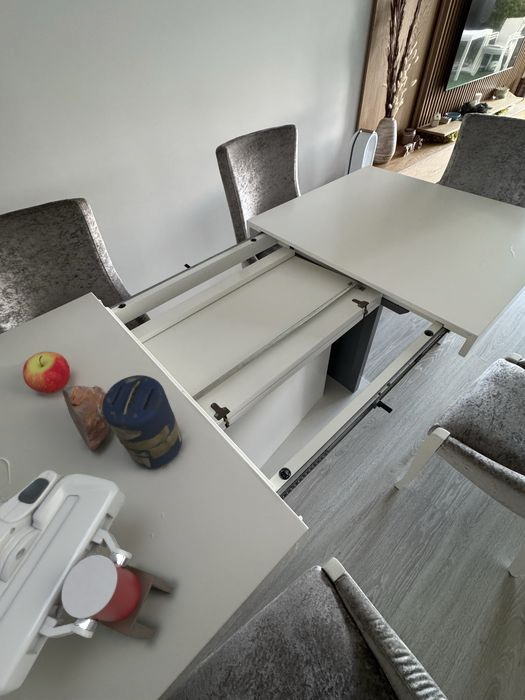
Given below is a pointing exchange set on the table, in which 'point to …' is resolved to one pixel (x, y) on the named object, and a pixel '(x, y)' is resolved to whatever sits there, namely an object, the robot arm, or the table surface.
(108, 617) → the tube
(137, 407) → the canister
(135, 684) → the table surface
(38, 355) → the apple
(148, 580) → the brown wooden stand
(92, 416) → the stone
